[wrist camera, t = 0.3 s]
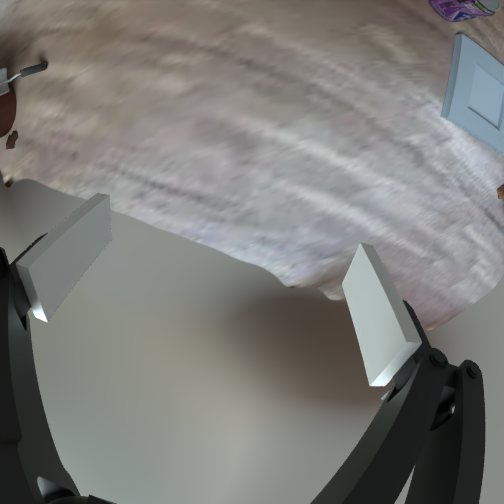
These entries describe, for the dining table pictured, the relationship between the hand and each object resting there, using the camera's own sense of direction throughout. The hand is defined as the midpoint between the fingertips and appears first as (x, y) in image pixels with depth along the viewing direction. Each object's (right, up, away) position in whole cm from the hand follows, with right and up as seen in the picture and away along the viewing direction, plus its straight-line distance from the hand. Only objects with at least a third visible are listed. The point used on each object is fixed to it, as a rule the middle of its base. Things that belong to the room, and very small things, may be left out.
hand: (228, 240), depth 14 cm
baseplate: (+40, +26, +14) cm, 49 cm away
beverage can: (+31, +39, +7) cm, 50 cm away
